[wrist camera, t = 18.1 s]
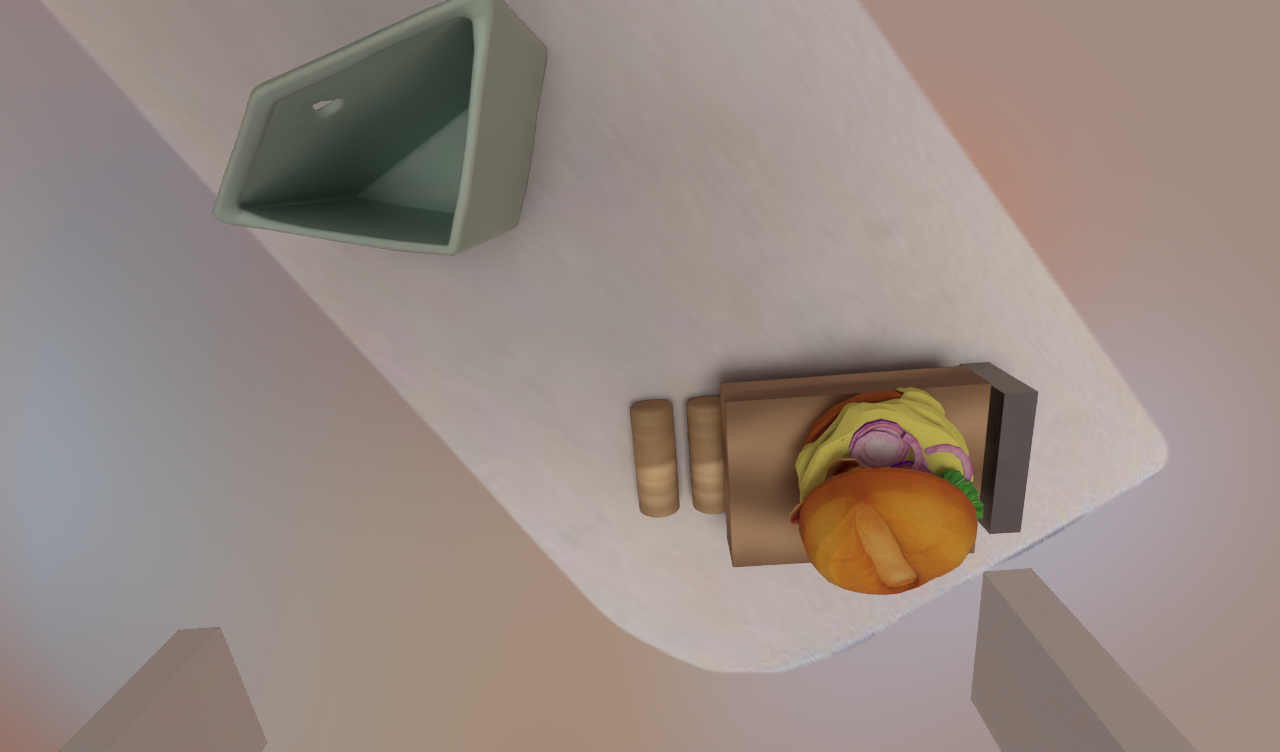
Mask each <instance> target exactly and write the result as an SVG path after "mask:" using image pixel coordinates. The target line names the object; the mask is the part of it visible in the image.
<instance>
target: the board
mask: <svg viewBox="0 0 1280 752" xmlns="http://www.w3.org/2000/svg"><path fill="white" fill-rule="evenodd" d="M908 387H913V388H917V389H920V390H924V391H926V392H928V393H929V394H930V395H931V396H932V397H933V398H934V399H936V400H937V401H938V402H939V403H940V404H941V405H942V407H943V409H944V411H945V417H946V418H947V419H948V420H949V421H950V422H951V423H952V424H953V425H954V426H955V427H956V428H957V429H958V431H959V432H960V434H961V435H962V436H963V438H964V440H965V443H966V446H967V449H968V451H969V459H970V462H971V466H972V469H973V477H974V478H973V486H974V488H975V489H977V490H978V491H979V495H978V499H979V500H980V490H981V481H982V471H983V461H984V451H985V441H986V431H987V421H988V411H989V402H990V392H991V383H990V382H988V381H987V380H985V379H984V378H982V377H981V376H979V375H978V374H976V373H974V372H973V371H971V370H970V369H968V368H967V367H965V366H954V367H940V368H926V369H912V370H898V371H885V372H871V373H857V374H843V375H829V376H815V377H802V378H788V379H774V380H760V381H746V382H733V383H720V394H721V416H722V437H723V459H724V480H725V502H726V523H727V540H728V545H729V550H730V555H731V560H732V565H733V567H744V566H761V565H778V564H795V563H811V562H810V560H809V559H808V557H807V554H806V551H805V548H804V545H803V542H802V539H801V536H800V533H799V524H797V525H793V524H791V522H790V519H789V515H790V513H791V512H792V510H793V509H794V508H795V506H797V505H798V504H800V489H799V479H798V474H797V471H796V467H795V464H796V461H797V458H798V456H799V453H800V452H801V450H802V447H803V445H804V442H805V440H806V438H807V436H808V434H809V431H810V429H811V427H812V425H813V424H814V423H815V422H816V421H817V420H818V419H819V418H821V417H822V416H823V415H824V414H825V413H826V412H828V411H829V410H830V409H831V408H832V407H833V406H835V405H837V404H839V403H841V402H843V401H846V400H848V399H850V398H852V397H854V396H857V395H859V394H861V393H868V392H876V391H884V390H894V391H897V390H896V388H908ZM897 392H899V391H897ZM901 393H902V392H901ZM977 520H978V519H977ZM974 550H975V542H974V543H973V545H972V547H971V549H970V551H969V553H974Z"/></svg>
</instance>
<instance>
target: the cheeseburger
mask: <svg viewBox="0 0 1280 752" xmlns="http://www.w3.org/2000/svg"><path fill="white" fill-rule="evenodd" d="M896 390H897V391H899V392H897V391H894V390H884V391H876V392H868V393H861V394H859V395H857V396H854V397H852V398H850V399H848V400H846V401H843V402H841V403H839V404H837V405H835V406H833V407H832V408H831V409H830V410H829V411H828V412H826V413H825V414H824V415H823V416H822V417H821V418H819V419H818V420H817V421H816V422H815V423H814V424H813V425H812V427H811V429H810V431H809V434H808V436H807V438H806V440H805V442H804V445H803V447H802V450H801V452H800V453H799V456H798V458H797V461H796V464H795V467H796V471H797V474H798V479H799V489H800V504H798V505H797V506H795V508H794V509H793V510H792V512H791V513H790V515H789V519H790V522H791V524H793V525H797V524H799V533H800V536H801V539H802V542H803V545H804V548H805V551H806V554H807V557H808V559H809V560H810V562H811V563H812V564H813V565H814V567H815V568H816V569H817V570H818V572H819V573H820V574H821V575H822V576H823V577H824V578H825V579H826V580H827V581H828V582H830V583H832V584H834V585H837V586H839V587H841V588H843V589H846V590H850V591H854V592H859V593H865V594H879V595H887V594H897V593H902V592H905V591H908V590H911V589H914V588H917V587H920V586H921V585H923V584H925V583H927V582H928V581H930V580H932V579H934V578H937V577H940V576H942V575H944V574H946V573H948V572H950V571H952V570H953V569H955V568H957V567H958V566H960V564H961V563H962V562H963V560H964V559H965V557H966V556H967V555H968V553H969V551H970V549H971V547H972V545H973V543H974V542H975V540H976V535H977V525H978V523H977V519H979V518H983V507H984V504H983V503H982V502H981V501H980V500H979V499H978V495H979V491H978V490H977V489H975V488H974V486H973V478H974V477H973V469H972V466H971V462H970V459H969V451H968V449H967V446H966V443H965V440H964V438H963V436H962V435H961V434H960V432H959V431H958V429H957V428H956V427H955V426H954V425H953V424H952V423H951V422H950V421H949V420H948V419H947V418H946V417H945V411H944V409H943V407H942V405H941V404H940V403H939V402H938V401H937V400H936V399H934V398H933V397H932V396H931V395H930V394H929V393H928V392H926V391H924V390H920V389H917V388H913V387H908V388H896ZM901 392H902V393H901Z"/></svg>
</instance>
